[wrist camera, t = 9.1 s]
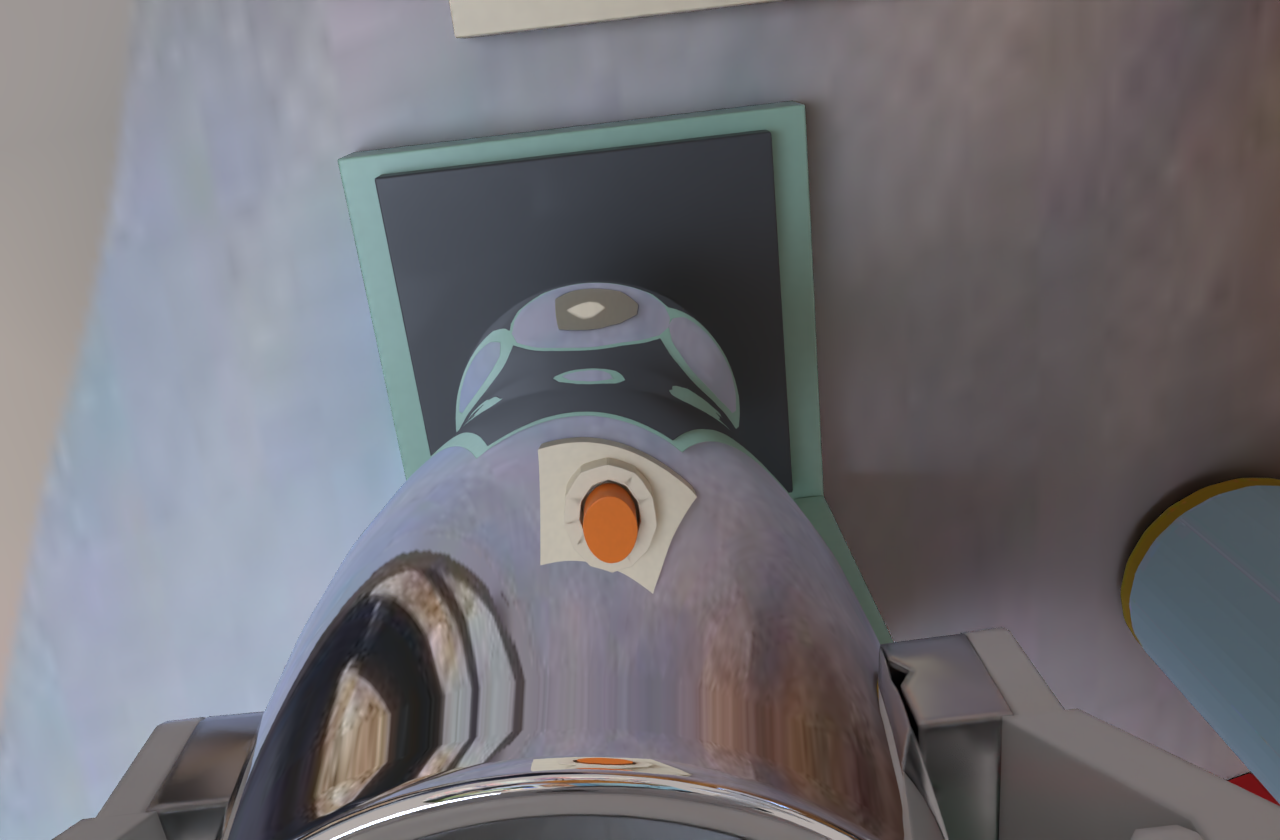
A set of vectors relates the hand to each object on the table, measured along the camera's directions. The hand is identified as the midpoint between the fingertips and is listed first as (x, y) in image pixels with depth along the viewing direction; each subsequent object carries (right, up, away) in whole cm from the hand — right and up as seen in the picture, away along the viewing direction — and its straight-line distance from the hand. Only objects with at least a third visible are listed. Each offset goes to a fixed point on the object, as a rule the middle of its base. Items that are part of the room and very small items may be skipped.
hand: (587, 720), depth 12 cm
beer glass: (0, +4, +10) cm, 10 cm away
